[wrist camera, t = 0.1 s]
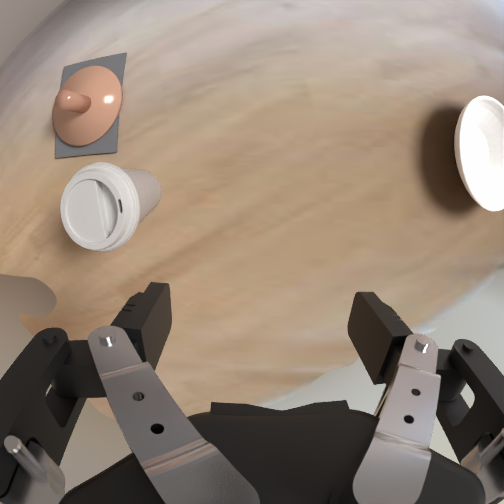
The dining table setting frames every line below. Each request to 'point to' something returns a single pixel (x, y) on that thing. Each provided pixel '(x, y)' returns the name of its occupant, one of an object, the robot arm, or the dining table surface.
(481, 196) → the bowl
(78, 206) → the coffee cup
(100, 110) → the lid
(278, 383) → the dining table surface
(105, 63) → the mat
